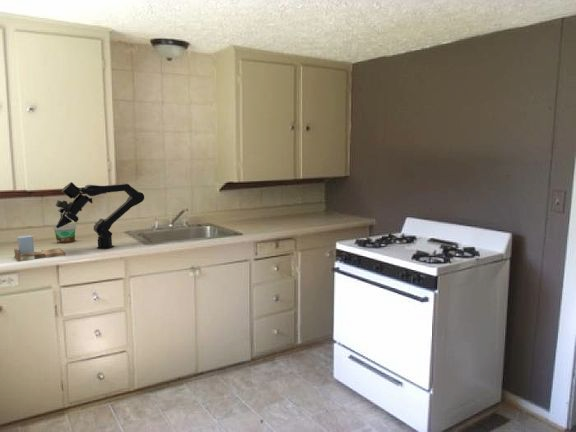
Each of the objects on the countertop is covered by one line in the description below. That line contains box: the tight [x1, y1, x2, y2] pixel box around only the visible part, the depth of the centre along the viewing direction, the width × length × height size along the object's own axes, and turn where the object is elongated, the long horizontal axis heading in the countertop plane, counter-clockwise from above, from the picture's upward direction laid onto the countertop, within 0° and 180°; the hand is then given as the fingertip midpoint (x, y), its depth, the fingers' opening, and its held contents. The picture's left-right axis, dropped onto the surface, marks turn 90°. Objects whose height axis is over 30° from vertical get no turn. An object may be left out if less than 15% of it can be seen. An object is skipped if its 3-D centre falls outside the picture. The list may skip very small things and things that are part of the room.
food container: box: [52, 224, 77, 244], centre depth 269 cm, size 12×6×10 cm, turn 126°
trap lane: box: [14, 247, 66, 262], centre depth 236 cm, size 21×12×4 cm, turn 127°
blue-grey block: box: [17, 234, 35, 254], centre depth 232 cm, size 6×5×9 cm
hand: (56, 227), depth 240 cm, fingers closed
